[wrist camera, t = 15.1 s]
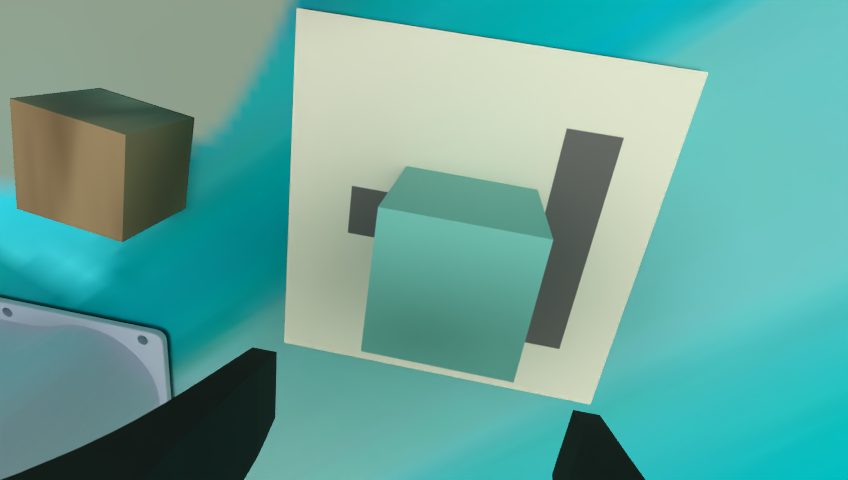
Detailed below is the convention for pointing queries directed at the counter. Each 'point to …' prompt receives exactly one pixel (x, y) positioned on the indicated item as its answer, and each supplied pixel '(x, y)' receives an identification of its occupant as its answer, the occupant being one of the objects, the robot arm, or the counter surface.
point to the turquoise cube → (455, 272)
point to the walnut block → (100, 160)
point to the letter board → (478, 173)
